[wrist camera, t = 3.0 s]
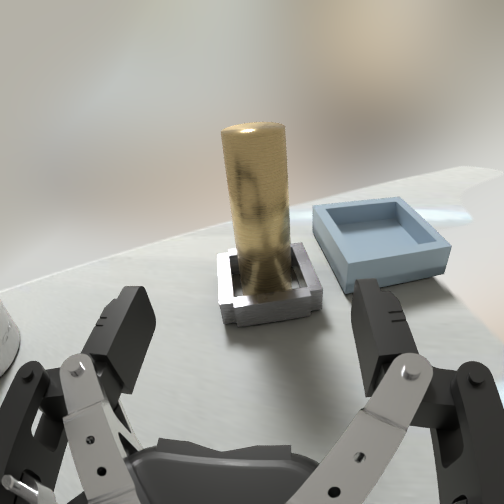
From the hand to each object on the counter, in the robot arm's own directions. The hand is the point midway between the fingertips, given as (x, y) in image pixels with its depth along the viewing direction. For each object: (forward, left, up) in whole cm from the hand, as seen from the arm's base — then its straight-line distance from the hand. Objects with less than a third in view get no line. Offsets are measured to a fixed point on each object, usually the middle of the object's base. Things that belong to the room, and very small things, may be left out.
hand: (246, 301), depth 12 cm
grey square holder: (+2, +11, -9) cm, 15 cm away
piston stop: (+2, +11, -9) cm, 15 cm away
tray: (+13, +14, -9) cm, 21 cm away
